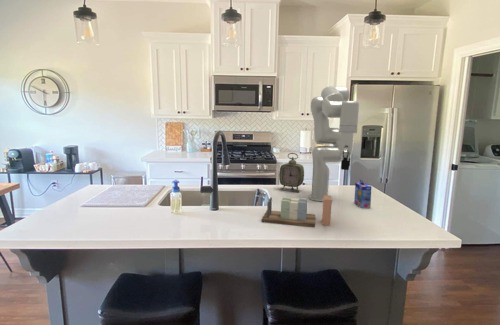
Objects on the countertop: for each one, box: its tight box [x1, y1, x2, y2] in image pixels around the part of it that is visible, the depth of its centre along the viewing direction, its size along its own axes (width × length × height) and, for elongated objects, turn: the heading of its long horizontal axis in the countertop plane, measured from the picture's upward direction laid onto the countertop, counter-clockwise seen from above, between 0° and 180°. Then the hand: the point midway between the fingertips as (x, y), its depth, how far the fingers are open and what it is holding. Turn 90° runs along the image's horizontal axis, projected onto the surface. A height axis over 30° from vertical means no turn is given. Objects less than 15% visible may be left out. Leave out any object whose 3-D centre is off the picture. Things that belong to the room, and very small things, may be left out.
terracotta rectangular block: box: [321, 195, 333, 227], centre depth 136 cm, size 7×4×12 cm, turn 167°
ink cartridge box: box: [353, 179, 372, 209], centre depth 163 cm, size 10×6×14 cm, turn 3°
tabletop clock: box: [278, 152, 305, 193], centre depth 193 cm, size 14×9×25 cm, turn 62°
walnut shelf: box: [261, 196, 316, 228], centre depth 139 cm, size 13×24×10 cm, turn 77°
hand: (345, 167), depth 133 cm, fingers open, 9 cm apart
